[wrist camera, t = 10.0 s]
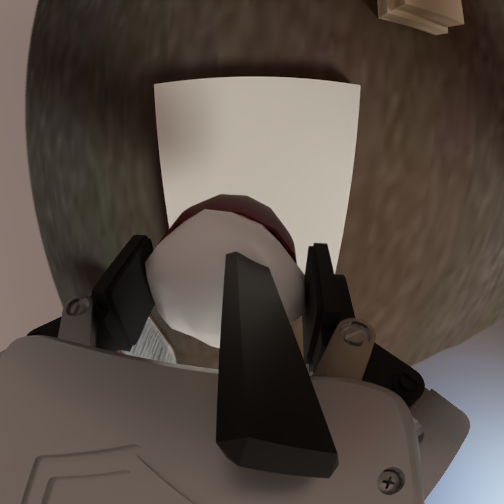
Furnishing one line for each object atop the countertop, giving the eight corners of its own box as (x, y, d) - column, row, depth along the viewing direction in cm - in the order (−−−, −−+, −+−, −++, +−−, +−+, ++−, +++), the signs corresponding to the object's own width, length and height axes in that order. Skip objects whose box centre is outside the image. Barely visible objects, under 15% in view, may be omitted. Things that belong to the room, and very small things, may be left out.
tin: (112, 281, 30) (78, 334, 23) (132, 277, 29) (98, 334, 22) (169, 360, 38) (152, 409, 31) (188, 359, 37) (172, 411, 30)
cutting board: (353, 84, 17) (360, 85, 15) (331, 266, 26) (333, 279, 24) (164, 83, 18) (153, 84, 16) (182, 257, 27) (176, 269, 25)
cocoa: (219, 297, 18) (174, 486, 8) (146, 230, 15) (37, 426, 6) (353, 223, 14) (410, 480, 4) (280, 122, 11) (252, 459, 2)
